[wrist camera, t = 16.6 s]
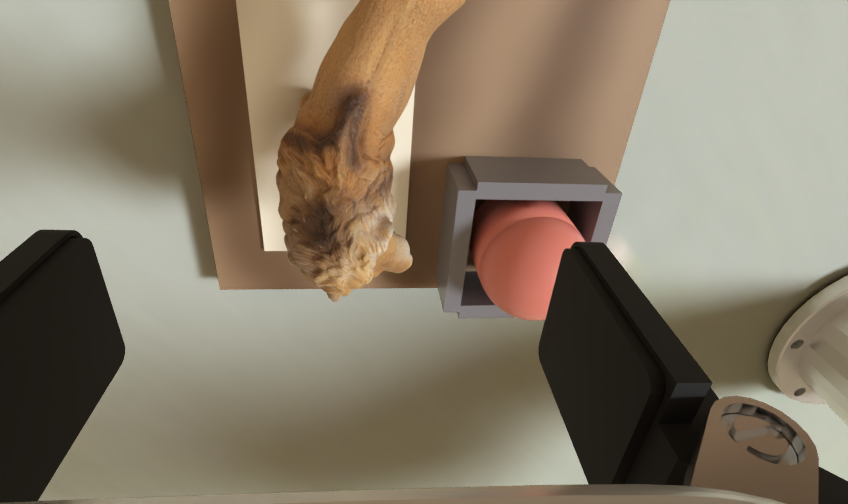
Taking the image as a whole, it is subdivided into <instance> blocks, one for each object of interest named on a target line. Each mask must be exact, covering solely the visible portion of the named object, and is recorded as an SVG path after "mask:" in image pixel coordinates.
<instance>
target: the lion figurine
mask: <svg viewBox="0 0 848 504" xmlns="http://www.w3.org/2000/svg"><path fill="white" fill-rule="evenodd" d="M465 1H466V0H360V1H359V3H358V4H357V6H356V7H355V8H354V10H353V11H352V12H351V13H350V15H349V16H348V18H347V19H346V20H345V22H344V23H343V25H342V26H341V28H340V30H339V32H338V34H337V36H336V38H335V39H334V41H333V43H332V45H331V46H330V48H329V50H328V51H327V53H326V55H325V57H324V59H323V61H322V63H321V65H320V67H319V70H318V73H317V75H316V78H315V81H314V84H313V88H312V91H311V92H309V93H307V94H305V95H304V96H303V97H302V99H301V101H300V107H301V108H300V110H299V111H298V113H297V117H296V120H295V123H294V126H293V127H291V128H290V129H289V130H288V131H287V133H286V134H285V135H284V136H283V138H282V139H281V144H280V147H279V150H278V159H277V166H278V167H279V170H278V172H277V173H276V185H277V188H278V191H279V195H280V201H279V207H278V212H279V215H280V217H281V219H282V220H283V221H282V226H283V230H284V232H285V233H286V234H285V236H284V242H285V245H286V248H287V251H288V254H287V259H288V261H289V263H290V264H291V265H293V266H295V267H298V268H299V269H300V272H301V274H302V275H303V276H304V277H305V278H306V279H307V280H309V281H311V282H312V283H314V285H315V286H317V287H320V288H321V289H323V290H324V291H325V292H327V295H328V297H329V298H330V299H331V300H332V301H333V302H337V301H338V300H339V298H340V297H341V296H346V295H349V294H350V293H351V291H352V290H353V289H358V288H361V287H362V286H363V285H364V284H368V283H370V282H371V280H372V278H374V277H377V276H378V275H379V274H380V273H381V272H382V271H389V272H394V273H402V272H403V271H405V270H407V269H408V268H409V267H410V266H411V265H412V261H413V260H412V256H411V254H410V247H409V244H408V242H407V240H406V239H405V238H404V237H402V236H400V235H398V234H396V233H395V231H394V227H393V217H394V214H395V211H396V206H397V204H396V200H395V198H394V197H393V196H392V194H391V187H392V181H393V166H392V162H391V160H390V156H391V153H392V151H393V149H394V146H395V136H394V132H393V128H394V126H395V124H396V123H397V121H398V119H399V118H400V116H401V114H402V113H403V111H404V109H405V107H406V105H407V103H408V101H409V99H410V96H411V94H412V91H413V88H414V86H415V83H416V80H417V76H418V73H419V70H420V67H421V64H422V60H423V56H424V53H425V49H426V46H427V43H428V41H429V39H430V37H431V36H432V34H433V33H434V31H435V30H436V29H437V28H438V27H439V26H440V25H441V24H442V23H443V22H444V21H445V20H446V19H448V18H449V17H450V16H451V15H452V14H453V13H454V12H455V11H457V10H458V9H459V8H460V7H461V6H462V5H463V4H464V3H465Z"/></svg>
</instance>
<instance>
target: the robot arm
mask: <svg viewBox="0 0 848 504" xmlns="http://www.w3.org/2000/svg"><path fill="white" fill-rule="evenodd" d="M124 356H125V345H124V342H123V338H122V335H121V332H120V329H119V326H118V323H117V319H116V316H115V313H114V310H113V307H112V304H111V301H110V297H109V294H108V291H107V288H106V285H105V282H104V279H103V275H102V272H101V269H100V266H99V263H98V260H97V257H96V253H95V250H94V247H93V245H92V242H91V241H90V240H89V239H87V238H83V237H82V235H81V234H80V233H79V232H77V231H75V230H39V231H37V232H35V233H34V234H33V235H32V236H31V237H29V238H28V239H27V240H26V241H25V242H23V243H22V244H21V245H20V246H19V247H17V248H16V249H15V250H14V251H12V252H11V253H10V254H9V255H8V256H6V257H5V258H4V259H3V260H2V261H0V504H848V481H846V480H844V479H842V478H840V477H838V476H836V475H834V474H832V473H830V472H828V471H826V470H825V469H823V468H821V467H819V458H818V453H817V449H816V446H815V444H814V443H813V441H812V440H811V438H810V437H809V435H808V434H807V433H806V432H805V431H804V430H803V429H802V428H801V427H800V426H799V425H798V424H797V423H796V422H795V421H794V420H792V419H791V418H790V417H788V416H787V415H786V414H784V413H783V412H781V411H779V410H778V409H776V408H774V407H772V406H770V405H768V404H766V403H763V402H760V401H758V400H755V399H752V398H747V397H741V396H728V397H723V398H721V399H719V398H718V397H717V395H716V394H715V393H714V391H713V390H712V389H711V388H710V387H711V385H712V382H711V380H710V379H709V378H708V376H707V375H706V374H705V373H704V371H703V370H702V369H701V367H700V366H699V365H698V364H697V362H696V361H695V360H694V358H693V357H692V356H691V354H690V353H689V352H688V351H687V349H686V348H685V347H684V345H683V344H682V343H681V342H680V340H679V339H678V338H677V336H676V335H675V334H674V333H673V331H672V330H671V329H670V327H669V326H668V325H667V324H666V322H665V321H664V320H663V318H662V317H661V316H660V314H659V313H658V312H657V311H656V309H655V308H654V307H653V305H652V304H651V303H650V302H649V300H648V299H647V298H646V296H645V295H644V294H643V293H642V291H641V290H640V289H639V287H638V286H637V285H636V284H635V282H634V281H633V280H632V278H631V277H630V276H629V274H628V273H627V272H626V271H625V269H624V268H623V267H622V265H621V264H620V263H619V262H618V260H617V259H616V258H615V256H614V255H613V254H612V253H611V251H610V250H609V249H608V247H607V246H606V245H605V244H604V243H602V242H575V243H573V245H572V246H571V248H566V249H564V251H563V253H562V256H561V260H560V264H559V268H558V272H557V276H556V280H555V284H554V288H553V291H552V295H551V299H550V303H549V307H548V311H547V315H546V319H545V323H544V327H543V331H542V335H541V339H540V343H539V359H540V363H541V365H542V368H543V370H544V373H545V375H546V378H547V380H548V383H549V385H550V388H551V390H552V393H553V395H554V398H555V400H556V403H557V405H558V408H559V410H560V413H561V416H562V418H563V421H564V423H565V426H566V428H567V431H568V433H569V436H570V438H571V441H572V443H573V446H574V448H575V451H576V453H577V456H578V458H579V461H580V463H581V466H582V468H583V471H584V473H585V476H586V479H587V481H588V484H589V485H525V486H488V487H450V488H413V489H378V490H346V491H314V492H283V493H253V494H222V495H192V496H165V497H138V498H112V499H85V500H59V501H38V500H39V498H40V496H41V495H42V493H43V491H44V490H45V488H46V487H47V485H48V483H49V482H50V480H51V478H52V477H53V475H54V473H55V472H56V470H57V469H58V467H59V465H60V464H61V462H62V460H63V459H64V457H65V456H66V454H67V452H68V451H69V449H70V447H71V446H72V444H73V443H74V441H75V439H76V438H77V436H78V434H79V433H80V431H81V430H82V428H83V426H84V425H85V423H86V421H87V420H88V418H89V416H90V415H91V413H92V412H93V410H94V408H95V407H96V405H97V403H98V402H99V400H100V399H101V397H102V395H103V394H104V392H105V390H106V389H107V387H108V386H109V384H110V382H111V381H112V379H113V377H114V376H115V374H116V373H117V371H118V369H119V368H120V366H121V364H122V362H123V360H124ZM768 371H769V375H770V377H771V379H772V381H773V382H774V383H775V384H776V386H777V387H778V388H779V389H780V390H781V391H782V392H783V393H784V394H785V395H786V396H788V397H789V398H791V399H793V400H796V401H799V402H802V403H810V404H827V405H828V406H829V407H830V408H831V409H832V410H833V411H834V412H835V413H836V414H837V415H838V416H839V417H840V418H841V419H842V420H843V421H844V422H845V423H846V424H847V425H848V275H847V276H845V277H843V278H841V279H839V280H838V281H836V282H834V283H832V284H831V285H829V286H827V287H826V288H824V289H823V290H821V291H820V292H819V293H817V294H816V295H814V296H813V297H812V298H810V299H809V300H808V301H807V302H806V303H805V304H804V305H802V306H801V307H800V308H799V309H798V310H797V311H796V312H795V313H794V314H793V315H792V316H791V317H790V319H789V320H788V321H787V322H786V323H785V324H784V326H783V327H782V329H781V330H780V332H779V333H778V335H777V336H776V338H775V340H774V343H773V345H772V347H771V350H770V353H769V359H768Z"/></svg>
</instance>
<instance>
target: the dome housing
mask: <svg viewBox="0 0 848 504" xmlns="http://www.w3.org/2000/svg"><path fill="white" fill-rule="evenodd" d="M621 196H622V193H621V192H620V191H619V190H618V189H617V188H616V187H615V186H614V185H613V184H612V183H611V182H610V181H609V180H608V179H607V178H606V177H605V176H604V175H603V174H602V173H601V172H599V171H598V170H597V169H596V168H595V167H589V166H588V165H587V164H586V163H585V162H584V161H583V160H582V159H562V158H527V157H492V156H465V161H464V164H456V163H448V164H447V173H446V183H445V192H444V202H443V211H442V221H441V230H440V240H439V249H438V259H437V268H436V281H437V286H438V290H439V294H440V299H441V303H442V307H443V312H457V314H458V318H512V317H514V316H511V315H509V314H507V313H506V312H504V311H502V310H501V309H500V308H498V307H497V306H496V305H495V304H494V303H493V302H492V301H491V300H490V298H489V297H488V296H487V294H486V293H485V291H484V289H483V287H482V284H481V282H480V279H479V276H478V273H477V271H466V264H467V257H468V250H469V243H470V236H471V229H472V222H473V215H474V208H475V201H476V199H491V200H552V201H571V202H570V206H569V210H568V214H567V216H568V218H569V219H570V220H571V222H572V223H573V224H574V226H575V227H576V228H577V229H578V231H579V232H580V234H581V235H582V237H583V238H584V240H585V242H602V243H604V244H605V245H606V244H607V241H608V238H609V234H610V231H611V228H612V225H613V222H614V218H615V215H616V212H617V209H618V206H619V203H620V199H621Z"/></svg>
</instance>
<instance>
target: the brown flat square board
mask: <svg viewBox="0 0 848 504" xmlns="http://www.w3.org/2000/svg"><path fill="white" fill-rule="evenodd" d="M168 1H169V7H170V13H171V18H172V24H173V29H174V35H175V41H176V46H177V52H178V57H179V63H180V68H181V74H182V80H183V85H184V91H185V96H186V102H187V108H188V113H189V119H190V124H191V130H192V136H193V141H194V147H195V152H196V158H197V163H198V169H199V175H200V180H201V186H202V191H203V197H204V203H205V208H206V214H207V219H208V225H209V231H210V236H211V242H212V247H213V253H214V258H215V264H216V270H217V275H218V281H219V286H220V290H227V289H321V288H320V287H317V286H315V285H314V283H312V282H311V281H309V280H307V279H306V278H305V277H304V276H303V275H302V274H301V272H300V269H299V268H298V267H295V266H293V265H291V264H290V263H289V261H288V259H287V254H288V251H287V248H286V245H285V242H284V236H285V234H286V233H285V232H284V230H283V226H282V221H283V220H282V219H281V217H280V215H279V212H278V207H279V201H280V195H279V191H278V188H277V185H276V173H277V172H278V170H279V167H278V166H277V159H278V150H279V147H280V144H281V139H282V138H283V136H284V135H285V134H286V133H287V131H288V130H289V129H290V128H291V127H293V126H294V123H295V120H296V117H297V113H298V111H299V110H300V108H301V107H300V101H301V99H302V97H303V96H304V95H305V94H307V93H309V92H311V91H312V88H313V84H314V81H315V78H316V75H317V73H318V70H319V67H320V65H321V63H322V61H323V59H324V57H325V55H326V53H327V51H328V50H329V48H330V46H331V45H332V43H333V41H334V39H335V38H336V36H337V34H338V32H339V30H340V28H341V26H342V25H343V23H344V22H345V20H346V19H347V18H348V16H349V15H350V13H351V12H352V11H353V10H354V8H355V7H356V6H357V4H358V3H359V1H360V0H168ZM669 3H670V0H466V1H465V3H464V4H463V5H462V6H461V7H460V8H459V9H458V10H457V11H455V12H454V13H453V14H452V15H451V16H450V17H449V18H448V19H446V20H445V21H444V22H443V23H442V24H441V25H440V26H439V27H438V28H437V29H436V30H435V31H434V33H433V34H432V36H431V37H430V39H429V41H428V43H427V46H426V49H425V53H424V56H423V60H422V64H421V67H420V70H419V73H418V76H417V80H416V83H415V86H414V88H413V91H412V94H411V96H410V99H409V101H408V103H407V105H406V107H405V109H404V111H403V113H402V114H401V116H400V118H399V119H398V121H397V123H396V124H395V126H394V128H393V132H394V136H395V146H394V149H393V151H392V153H391V156H390V160H391V162H392V166H393V181H392V187H391V194H392V196H393V197H394V198H395V200H396V204H397V206H396V211H395V214H394V217H393V227H394V231H395V233H396V234H398V235H400V236H402V237H404V238H405V239H406V240H407V242H408V244H409V247H410V254H411V256H412V260H413V261H412V265H411V266H410V267H409V268H408V269H407V270H405V271H403V272H402V273H394V272H389V271H382V272H381V273H380V274H379V275H378V276H377V277H374V278H372V280H371V282H370V283H368V284H364V285H363V286H362V287H361V288H438V286H437V281H436V268H437V259H438V249H439V240H440V230H441V221H442V211H443V202H444V192H445V183H446V173H447V164H448V163H456V164H464V161H465V156H492V157H527V158H562V159H582V160H583V161H584V162H585V163H586V164H587V165H588V166H589V167H595V168H596V169H597V170H598V171H599V172H601V173H602V174H603V175H604V176H605V177H606V178H607V179H608V180H609V181H610V182H611V183H612V184H613V185H615V181H616V178H617V175H618V172H619V168H620V165H621V162H622V158H623V155H624V152H625V148H626V145H627V142H628V138H629V135H630V132H631V128H632V125H633V122H634V119H635V115H636V112H637V109H638V105H639V102H640V99H641V95H642V92H643V89H644V85H645V82H646V79H647V76H648V72H649V69H650V66H651V62H652V59H653V56H654V52H655V49H656V46H657V42H658V39H659V36H660V33H661V29H662V26H663V23H664V19H665V16H666V13H667V9H668V6H669ZM486 200H487V199H476V201H475V208H474V213H475V212H476V210H477V209H478V208H479V207H480V205H481V204H483V203H484V202H485V201H486ZM556 202H557V203H558V204H559V206H560V207H561V208H562V210H563V211H564V212H565V214H566V215H567V214H568V210H569V206H570V202H571V201H556ZM466 271H476V268H475V265H474V262H473V260H472V257H471V254H470V251H469V250H468V257H467V264H466Z"/></svg>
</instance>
